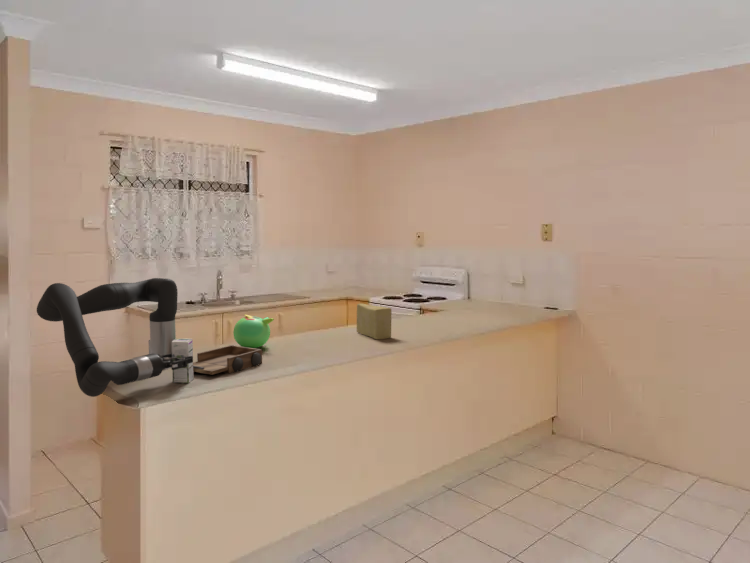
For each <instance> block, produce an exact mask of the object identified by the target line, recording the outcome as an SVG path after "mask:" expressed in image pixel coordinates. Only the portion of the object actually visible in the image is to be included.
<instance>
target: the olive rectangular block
mask: <svg viewBox="0 0 750 563" xmlns="http://www.w3.org/2000/svg"><path fill="white" fill-rule="evenodd" d="M357 332H358V334H360V333H361V335H363V336H367V337H369V338H372V339H374V340H383V339H384V340H385V339H391V337H392V308H390V307H385V306H378V305H371V304H365V303H357V304H356V333H357Z"/></svg>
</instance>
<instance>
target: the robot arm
mask: <svg viewBox="0 0 750 563" xmlns="http://www.w3.org/2000/svg"><path fill="white" fill-rule="evenodd" d="M40 297H41V298H40V299H39V301H38V303H37V306H36V314H37V315H38V316H39V317H40V318H41V319H43V320H44V321H48V322H62V323H63V334H64V336H63V337H64V343H65V348H66V350H67V352H68V355H69V357H70V359H71V361H72V363H73V364H74V371H75V376H76V377H75V378H76V381H77V384H78V387H79V389H80V391H81V392H82V393H83V394H84V395H86V396H88V397H90V398H94V397H95V398H96V397H99V396H100V395H102V394H103V393H104V391H105V390H106V389H107V387H108V386H109V383H111V382H112V383H113V384H114V385H118V386H121V385H126V384H130V383H133V382H140V381H145V380H148V379H151V378H154V377H159V376H160V375H161V374H162V372H163V370H164V371H165V370H169V369H171V371H172V370H176V369H180V368H184V367H187V364H189V363H192V362H193V363H194V355H193V356H188V357H184V358H177V357H172V341H173V340H175V339H177V337H176V336H177V335H176V332H177V330H176V315H177V311H178V286H177V284H176V282H175V280H173V279H171V278H164V277H163V278H161V277H153V278H149V279H145V280H141V281H140V280H139V281H137V282H115V283H114V282H113V283H105V284H100V285H97V286H95V287H94V288H92V289H90V290H88V291H86V292H84V293H82V294H79V295H77V294H76V292H75V290H74V289H73V288H72V287H71V286H70V285H67V284H65V283H61V282H56V283H52V284H50V285H49V286H47V288H46V289H45V291H44V292H43V294H42V296H40ZM140 302H151V303H157V308H156V310H154V311H152V312H150V314H149V340H148V354H144V355H140V356H136V357H132V358H129V359H127V360H123V361H109V360H108V361H107V360H105V361H99V359H100V358H99V357H100V356H99V352H98V350H97V348H96V346H95V344H94V343H93V342H94V341H92V339H91V336H90V334H89V332H88V330H87V326H86V324H85V321H84V317H83V316H85V315H90V314H91V315H92V314H96V313H100V312H109V311H116V310H121V309H124V308H127V307H129V306H131V305H133V304H135V303H140ZM173 359H174V360H175V361H173Z"/></svg>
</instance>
